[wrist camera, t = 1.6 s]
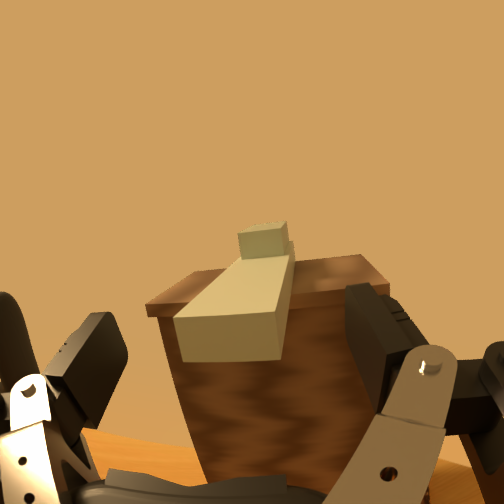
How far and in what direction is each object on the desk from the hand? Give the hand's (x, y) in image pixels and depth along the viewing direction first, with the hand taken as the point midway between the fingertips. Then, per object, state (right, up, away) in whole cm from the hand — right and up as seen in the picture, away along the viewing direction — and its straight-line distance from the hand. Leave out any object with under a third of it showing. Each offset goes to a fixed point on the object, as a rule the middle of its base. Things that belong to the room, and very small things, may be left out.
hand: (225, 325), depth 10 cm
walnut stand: (+7, -31, +20) cm, 37 cm away
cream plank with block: (+2, 0, +11) cm, 11 cm away
